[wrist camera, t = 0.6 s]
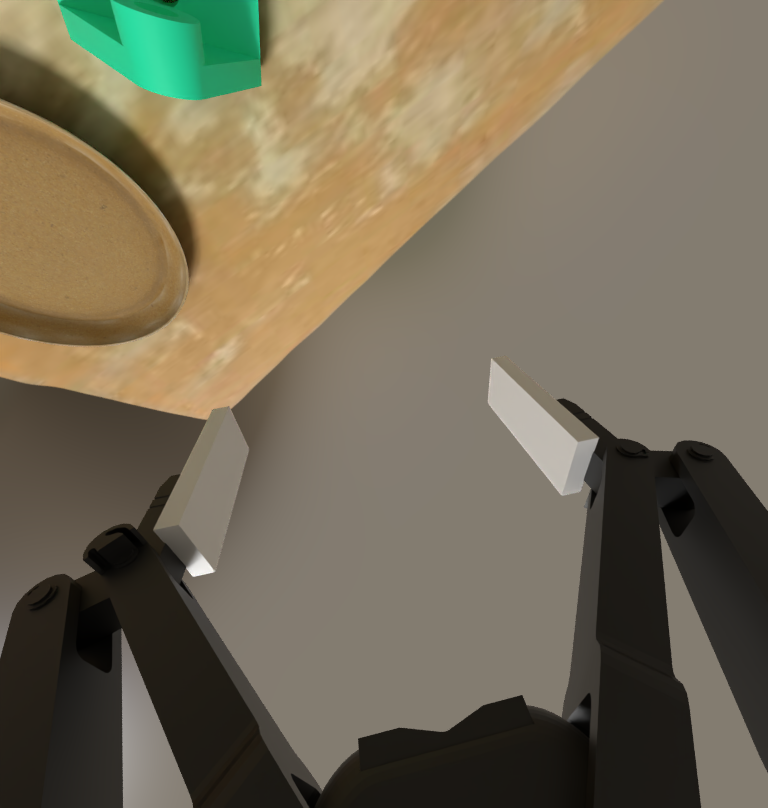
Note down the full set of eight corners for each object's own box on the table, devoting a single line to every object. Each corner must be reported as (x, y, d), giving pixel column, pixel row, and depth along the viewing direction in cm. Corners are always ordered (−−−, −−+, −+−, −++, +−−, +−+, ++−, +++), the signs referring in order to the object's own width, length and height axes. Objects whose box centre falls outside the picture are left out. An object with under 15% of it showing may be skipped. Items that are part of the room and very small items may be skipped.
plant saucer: (207, 175, 32) (208, 190, 30) (175, 345, 46) (174, 362, 45) (-299, -60, 17) (-354, -56, 15) (-113, 296, 32) (-131, 318, 30)
